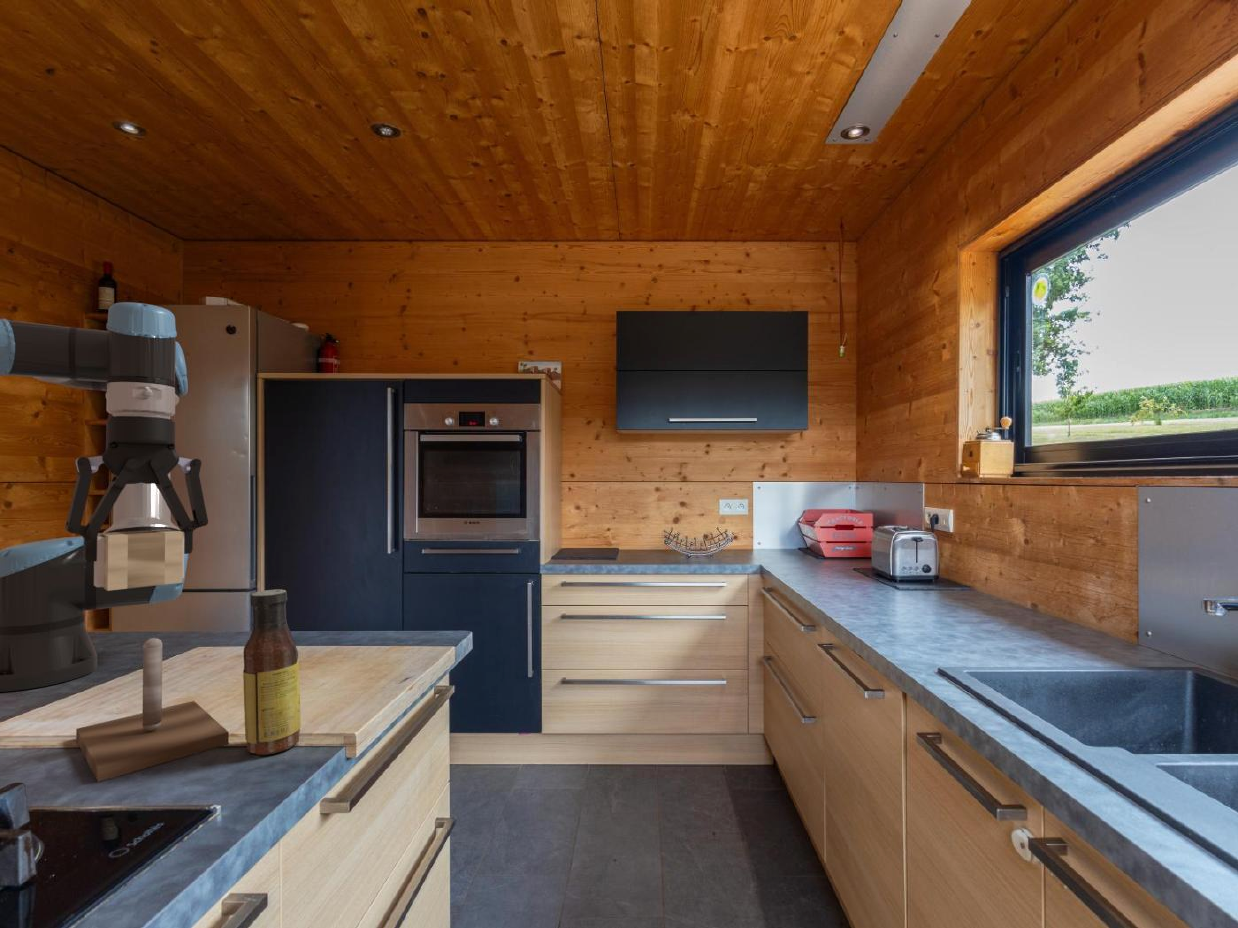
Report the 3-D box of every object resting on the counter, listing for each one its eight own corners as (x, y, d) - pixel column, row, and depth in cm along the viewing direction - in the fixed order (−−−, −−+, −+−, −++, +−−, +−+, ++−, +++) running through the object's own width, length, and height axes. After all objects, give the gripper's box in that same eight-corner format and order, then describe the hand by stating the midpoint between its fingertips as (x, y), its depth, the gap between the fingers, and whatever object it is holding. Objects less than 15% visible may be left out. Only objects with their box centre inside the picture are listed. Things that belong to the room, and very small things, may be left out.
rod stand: (76, 740, 80) (77, 637, 80) (193, 710, 90) (194, 619, 90) (97, 781, 69) (99, 662, 69) (228, 743, 79) (229, 639, 79)
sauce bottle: (310, 736, 81) (311, 587, 81) (280, 758, 75) (281, 597, 75) (264, 734, 82) (265, 586, 82) (230, 756, 75) (231, 596, 76)
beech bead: (97, 584, 84) (97, 533, 84) (168, 576, 90) (168, 529, 90) (107, 590, 78) (108, 536, 79) (182, 582, 84) (182, 531, 84)
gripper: (41, 408, 74) (39, 595, 74) (235, 419, 90) (234, 574, 89) (35, 413, 79) (33, 589, 79) (220, 423, 95) (219, 570, 94)
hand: (140, 581), depth 84 cm, fingers closed on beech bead, 8 cm apart
